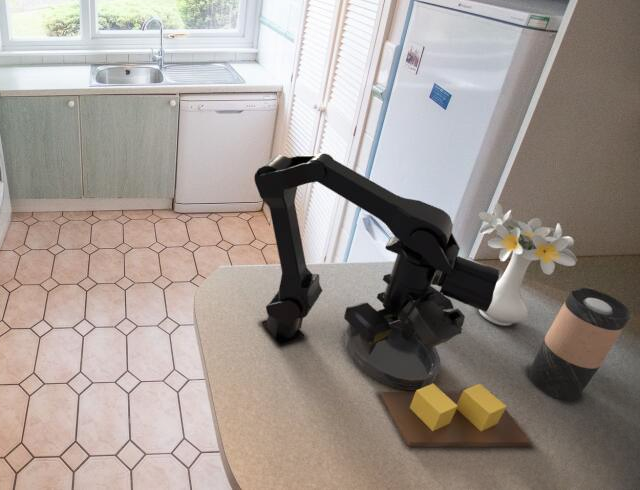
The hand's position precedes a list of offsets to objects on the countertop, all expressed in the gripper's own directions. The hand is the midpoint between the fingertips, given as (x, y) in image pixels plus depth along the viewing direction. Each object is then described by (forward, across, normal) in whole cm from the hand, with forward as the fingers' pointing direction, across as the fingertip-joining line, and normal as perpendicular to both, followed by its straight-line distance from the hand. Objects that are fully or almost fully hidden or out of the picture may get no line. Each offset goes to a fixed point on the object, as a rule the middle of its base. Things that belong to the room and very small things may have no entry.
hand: (386, 345), depth 82 cm
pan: (+9, +7, +3) cm, 12 cm away
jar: (+9, +24, +12) cm, 28 cm away
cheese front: (+8, +10, -12) cm, 17 cm away
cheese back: (+8, +2, -9) cm, 12 cm away
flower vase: (+9, +38, +4) cm, 39 cm away
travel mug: (+9, +31, -12) cm, 35 cm away
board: (+9, +6, -11) cm, 15 cm away
